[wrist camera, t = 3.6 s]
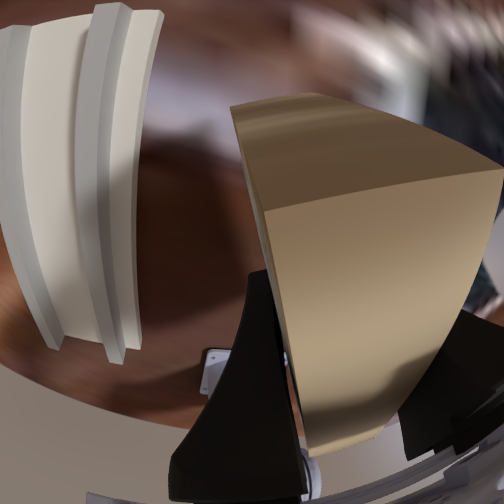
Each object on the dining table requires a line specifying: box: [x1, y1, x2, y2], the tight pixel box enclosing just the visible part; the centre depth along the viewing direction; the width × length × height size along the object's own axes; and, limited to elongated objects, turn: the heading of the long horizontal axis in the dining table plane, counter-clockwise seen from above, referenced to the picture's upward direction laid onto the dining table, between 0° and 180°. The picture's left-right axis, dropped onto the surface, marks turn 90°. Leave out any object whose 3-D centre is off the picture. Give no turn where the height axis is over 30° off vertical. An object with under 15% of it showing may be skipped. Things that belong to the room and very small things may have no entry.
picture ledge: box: [0, 2, 165, 365], centre depth 13 cm, size 24×10×3 cm, turn 167°
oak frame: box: [230, 93, 504, 458], centre depth 9 cm, size 12×3×8 cm, turn 12°
